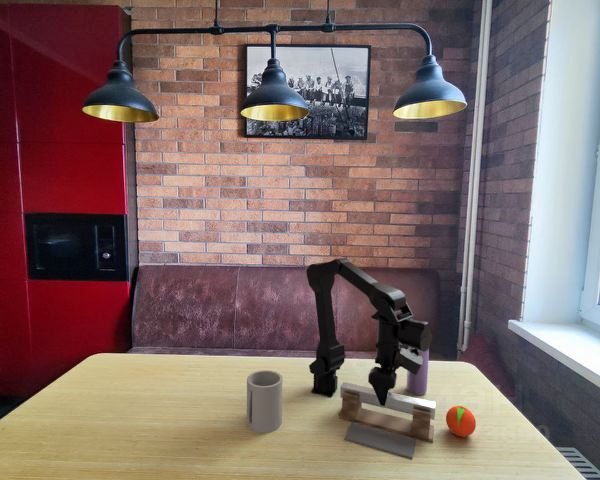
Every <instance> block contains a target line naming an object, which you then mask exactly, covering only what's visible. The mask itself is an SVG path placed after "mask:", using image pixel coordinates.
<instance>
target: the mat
mask: <svg viewBox="0 0 600 480" xmlns="http://www.w3.org/2000/svg"><path fill="white" fill-rule="evenodd" d="M343 441H348V442H351V443H355V444H358V445H362V446H365V447H368V448H371V449H372V448H373V449H376V450H380V451H382V452H386V453H390V454H393V455H398V456H401V457H404V458H408V459H411V460H413V457H414V450H415V445H416V438H413V437H409V436H405V435H402V434H398V433H394V432H390V431H386V430H383V429H379V428H375V427H371V426H367V425H363V424H360V423H356V422H352V421H350V425H349V427H348V429H347V431H346V433H345V436H344V438H343Z"/></svg>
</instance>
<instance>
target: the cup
mask: <svg viewBox="0 0 600 480" xmlns="http://www.w3.org/2000/svg"><path fill="white" fill-rule="evenodd" d="M283 381H284V379H283V375H282V374H281V373H279V372H277V371H276V370H275V371H273V370H270V369H269V370H267V369H266V370H265V369H264V370H258V371H254V372H252V373H249V375H248V376H247V378H246V426H247V428H248V429H249V430H250V431H251V432H253V433H257V434H269V433H273V432H276V431H277V430H278V429H280V428H281V426H282V424H283V385H284V384H283Z"/></svg>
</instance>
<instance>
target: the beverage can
mask: <svg viewBox="0 0 600 480" xmlns="http://www.w3.org/2000/svg"><path fill="white" fill-rule="evenodd" d="M411 348H412V347H409V346H408V349H411ZM429 353H430V348H429V349H428V350H427V351H425V352H423V351H420V350H419V354H420V355H419V356H422V358H423V363H422V366H421V368H420V370H419V372H418V374H417V375H414V374H412V373H411V372H410V371H408V370H406V371H407V372H406V390H407V391H408V392H409V393H410V394H412V395H414V396H415V395H416V396H423V395H425V394H426V393H427V390H428V389H427V388H428V374H429V373H428V371H429V357H430V355H429Z"/></svg>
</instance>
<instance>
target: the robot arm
mask: <svg viewBox="0 0 600 480" xmlns="http://www.w3.org/2000/svg"><path fill="white" fill-rule="evenodd" d="M336 275H339V276H340V277H341V278H343V279H344V280H346V281H347V282H348V283H349V284H351V285H352V286H354V288H356V289H357V290H359V291H360V292H361V293H362V294H364V295H365V296H366V297H367V298H368V300H369V303H370V304H371V306H372V307H373V308H374V309H375V310H376V312H375V313H373V314H372V315H371V316H370V318H371V319H373V320H376V321H377V339H376V340H377V341H376V342H375V349H376V356H375V358H374V364H378V365H379V366H374V367H372V368H371V369H370V371H369V373H368V376H367V377H368V378H367V379H368V380H367V383H369V384H370V385H371V388H373V389H374V391H375V393H376V395H377V398H378V400H379V403H380V405H382V406H385V404H386V400H387V396H388V392H390V390H393V389H394V388H395V387H396V385H397V379H398V378H397V377H398V376H397V375H398V374H397V373H396V371H397V370H398V369H399V368H403V369H405V370H406V371H407V370H408V371H410V372H411V373H412V374H414V375H417V374H418V372H419V370H420V368H421V366H422V363H423V358H422V356H419V355H420V354H419V350H420V351H423V352H425V351H427V350H428V349H429V350H430V347H431V344H432V341H433V334H432V330H431V328H430V327H429V322H428V321H424V320H418V319H414V318H415V314H414V313H413V312H412V311H413V310H412V309H411V307H410V306H409V304H408V302H407V299H406V294H404V292H403V291H401V289H398V288H396V287H393V286H391V285H388V284H384V283H381V282H379V281H377V280H376V279H374V278H373V277H372V276H370V275H369V274H368V273H366V272H365V271H363V270H362V269H361V268H359V267H358V266H356V265H355V264H354V263H352V262H351V261H350V260H349V259H348V258H346V257H342V258H335V259H332V260H330V261H325V262H317V263H312V264H310V265H308V267H307V268H306V278H307V282H308V286H309V287H310V288H311V290H312V291H313V292H314V298H315V307H316V317H317V324H318V325H317V326H318V334H319V342H318V344H317V348H316V350H315V360H314V361H312V362H311V363H310V364H309V365H308V368H309V372H310V374H312V375H313V387H312V388H311V393H312V394H317V395H320V396H321V395H322V396H326V397H329V398H332V397H333V396H334V394H335V393H336V391H337V390H338V380H339V376H338V375H337V371H339V370H340V369H341V367H342V365H343V364H344V363H345V361H346V357H347V356H346V353H345V344H344V343H340V342H339V340H338V339H337V334H336V326H335V325H336V324H335V318H334V317H335V315H334V308H333V307H334V306H333V297H332V290H333V287H334V284H335V281H336V279H335V278H336V277H335V276H336ZM399 312H401V313H399ZM396 313H398V314H396ZM403 345H404V346H405V347H408V348H407V349H405V348H404V347H403ZM409 347H412V348H411V349H409ZM399 370H400V369H399Z"/></svg>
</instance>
